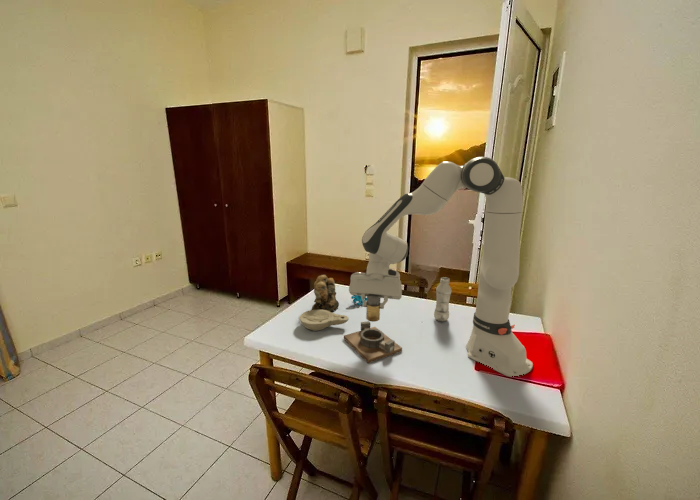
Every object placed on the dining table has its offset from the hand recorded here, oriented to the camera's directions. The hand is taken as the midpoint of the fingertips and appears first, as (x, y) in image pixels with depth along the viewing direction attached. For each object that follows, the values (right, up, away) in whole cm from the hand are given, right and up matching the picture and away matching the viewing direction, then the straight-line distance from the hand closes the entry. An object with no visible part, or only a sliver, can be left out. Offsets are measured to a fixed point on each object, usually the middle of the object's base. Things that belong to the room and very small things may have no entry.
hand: (373, 307), depth 114 cm
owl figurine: (-21, -7, +36) cm, 42 cm away
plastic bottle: (+33, -11, +25) cm, 43 cm away
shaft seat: (0, -15, +5) cm, 16 cm away
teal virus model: (-4, -6, +42) cm, 42 cm away
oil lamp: (-20, -12, +18) cm, 29 cm away
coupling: (0, -4, +2) cm, 5 cm away
